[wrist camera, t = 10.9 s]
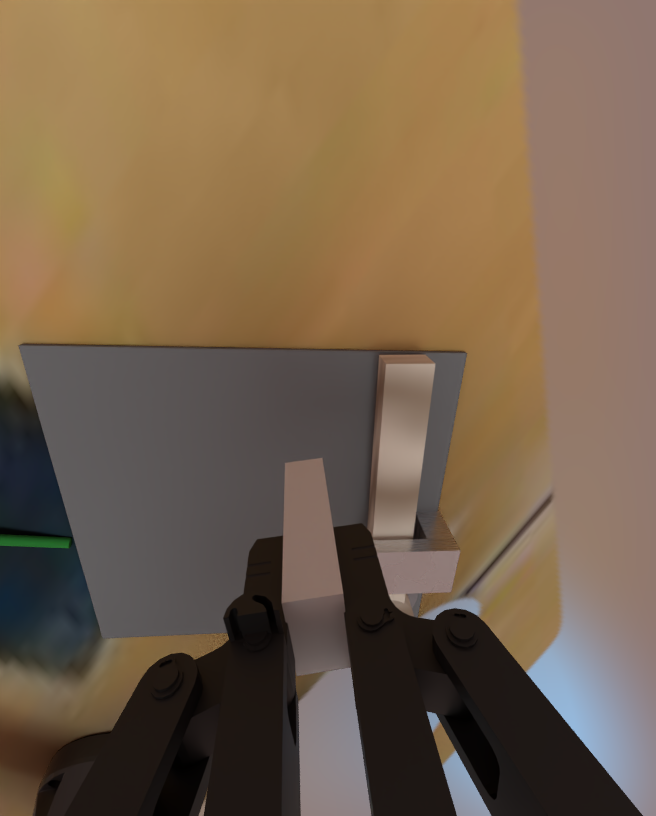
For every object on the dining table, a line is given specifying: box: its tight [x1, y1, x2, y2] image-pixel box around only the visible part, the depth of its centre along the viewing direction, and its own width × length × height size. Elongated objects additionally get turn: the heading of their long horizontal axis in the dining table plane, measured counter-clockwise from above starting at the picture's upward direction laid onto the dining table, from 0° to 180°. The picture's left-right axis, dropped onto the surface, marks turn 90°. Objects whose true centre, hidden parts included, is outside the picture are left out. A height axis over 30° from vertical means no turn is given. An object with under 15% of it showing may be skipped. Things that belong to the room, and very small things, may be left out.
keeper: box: [373, 509, 460, 594], centre depth 29 cm, size 4×6×5 cm, turn 88°
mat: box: [18, 344, 467, 638], centre depth 29 cm, size 26×28×1 cm
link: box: [367, 355, 435, 617], centre depth 27 cm, size 24×5×4 cm, turn 179°
